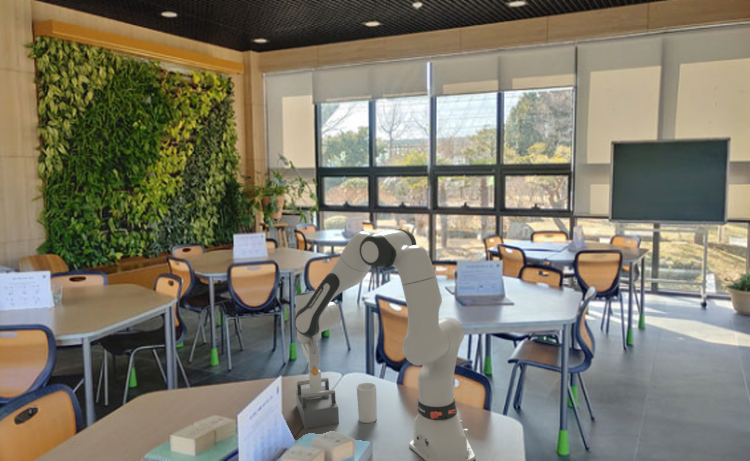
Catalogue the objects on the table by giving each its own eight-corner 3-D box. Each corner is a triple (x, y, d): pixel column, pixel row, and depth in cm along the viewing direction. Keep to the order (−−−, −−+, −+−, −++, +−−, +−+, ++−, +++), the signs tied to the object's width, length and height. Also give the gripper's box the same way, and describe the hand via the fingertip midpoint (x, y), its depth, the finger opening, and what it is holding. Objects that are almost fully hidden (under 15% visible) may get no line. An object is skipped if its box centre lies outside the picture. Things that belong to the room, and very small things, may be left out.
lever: (322, 398, 202) (321, 368, 201) (310, 399, 201) (308, 369, 200) (321, 394, 205) (319, 365, 204) (309, 396, 204) (307, 366, 203)
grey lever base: (339, 423, 196) (337, 393, 195) (304, 429, 193) (302, 399, 192) (328, 400, 215) (326, 373, 214) (296, 405, 212) (295, 378, 211)
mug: (375, 424, 194) (373, 390, 193) (356, 423, 196) (354, 390, 194) (380, 411, 204) (379, 379, 203) (362, 410, 206) (361, 378, 204)
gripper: (322, 341, 200) (324, 378, 202) (313, 325, 220) (315, 360, 221) (304, 343, 198) (307, 381, 200) (297, 327, 218) (299, 362, 220)
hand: (311, 369), depth 211 cm, fingers closed
